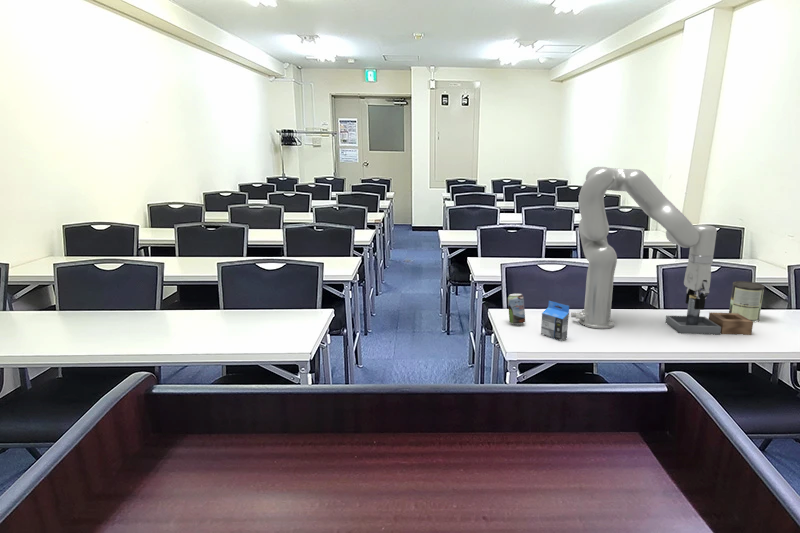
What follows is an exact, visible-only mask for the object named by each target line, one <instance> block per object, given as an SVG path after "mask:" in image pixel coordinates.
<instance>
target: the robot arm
mask: <svg viewBox="0 0 800 533" xmlns="http://www.w3.org/2000/svg"><path fill="white" fill-rule="evenodd" d="M607 191H614V192H626V193H628V195H629V196H630V198H632V199H633V200H634V202H635V203H636V204H637V205H638V207H639V208H640V209H641V210H642V211H643V213H644V214H646V215H647V216H648V217H649V218H650V219H652V220H653V221H654V222H656V223H658V224H660V225H661V227H663V229H665V230H666V231H665V237H666V239H667V240H668V242H670V243H672V244H674V245H676V246H679V247H681V248H684V249H688V248H689V254H688V261H687V265H686V268H685V274H684V280H683V285H684V286H685V288H686V295H685V304H686V305H688V303H689V295H690V294H696V295H697V298H695V306H694V309H700V310H705V307H706V300H707V297H708V295H709V294H710V287H711V280H712V265H713V260H714V254H715V247H716V240H717V227H715V226H713V225H706V224H697V225H693V223H692V222H691V221H690V220H689V218H688V217H687V216H686V215H685V214H684V213H683V212H681V211H680V209H678V207H676V205H674V204H673V203H672V202H671V201H670V200H669V199H668V198H667V197H666V195H665V194H664V193H663V192H662V191H661V190H660V189H659V188H658V187H657V185H656V184H655V183H654V182H653V181H652V179H650V177H649V176H648V175H647V174H646V172H644V171H642V170H641V169H635V168H613V167H606V166H595V167H591V169H589V170H588V171H587V172H586V175H585V181H584V183H583V184H582V186H581V188H580V191H579V196H578V204H579V211H580V218H581V219H580V221H579V223H578V232H579V237H580V241H581V242H580V243H581V246H582V251H583V254H584V258H585V259H586V260H587V261H588V267H587V270H586V271H587V272H586V279H585V280H586V282H585V293H584V294H585V296H584V308H583V309H582V310H581V311H579V312H571V313H570V317H571V318H575V319H576V320H578V321H579V322H578V323H581V324H580V325H582V324H583V325H582V326H584V325H585V326H584V327H588V328H593V329H601V330H602V329H603V330H604V329H610V328H611V329H612V328H613V327H614V326H615V322H614V320H612V319H611V311H612V301H613V290H614V289H613V288H614V277H615V272H616V266H617V263H618V256H617V252H616V251H615V249H614V247H613V246H611V245H610V244H609V242H608V238H607V236H609V233H610V226H609V222H608V217H607V214H606V213H607V212H606V208H605V198H604V197H605V194H606V193H607Z"/></svg>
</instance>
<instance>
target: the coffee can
mask: <svg viewBox="0 0 800 533" xmlns="http://www.w3.org/2000/svg"><path fill="white" fill-rule="evenodd" d="M765 288H766V286H765V285H764V284H762V283H758V282H755V281H754V282H753V281H744V280H739V281H738V280H736V281H733V282H732V288H731V295H730V301H729V302H730V303H729V309H728V313H738V314H740V315H742V316H744V317H745V318H747V319H749V320H751V321H753V323H756V322H755V321H758V322H760V316H761V309H762V302H763V297H764V292H765V291H764V290H765Z"/></svg>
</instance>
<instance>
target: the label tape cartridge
mask: <svg viewBox="0 0 800 533" xmlns="http://www.w3.org/2000/svg"><path fill="white" fill-rule="evenodd" d="M556 306H557V307H556ZM559 307H560V308H559ZM569 315H570V305H568V304H564V303H560V302H556V301H551V300H548V306H547V308H545V309H544V311H543V312H542V313H541V324H540V325H541V328H540V335H542V334H544V335H543V336H545V335H547V336H546V337H548V336H549V338H551V337H552V338H551V339H554V338H555V340H557V339H558V341H560V340H561V341H560V342H562V340H563V341H565V340H567V339H568V329H569V317H570V316H569ZM566 338H567V339H566ZM564 339H565V340H564Z"/></svg>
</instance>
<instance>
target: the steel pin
mask: <svg viewBox="0 0 800 533" xmlns="http://www.w3.org/2000/svg"><path fill="white" fill-rule="evenodd" d="M695 298H697V294H690V295H689V303H688V304H687V312H686V316H687V318H686V325H697V326H698V323H699V316H700V315H701V309H694V306H695Z"/></svg>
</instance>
